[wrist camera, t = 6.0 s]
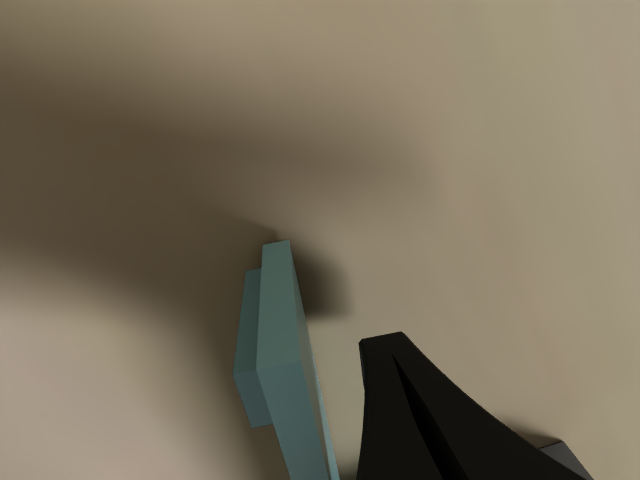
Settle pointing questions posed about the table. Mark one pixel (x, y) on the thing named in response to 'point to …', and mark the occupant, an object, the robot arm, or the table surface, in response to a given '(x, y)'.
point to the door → (282, 367)
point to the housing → (566, 458)
